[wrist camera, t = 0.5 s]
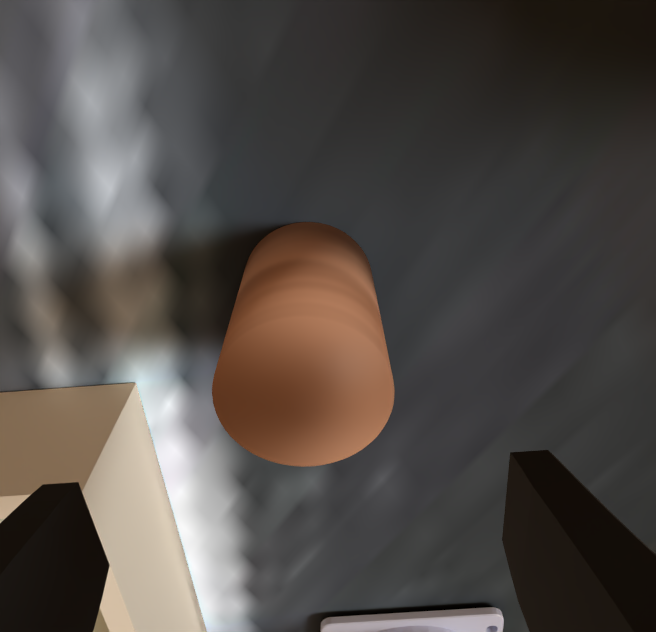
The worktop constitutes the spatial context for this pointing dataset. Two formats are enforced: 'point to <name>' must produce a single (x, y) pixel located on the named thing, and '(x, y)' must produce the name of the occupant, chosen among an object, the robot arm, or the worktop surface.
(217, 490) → the worktop surface
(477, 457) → the worktop surface
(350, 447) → the peg
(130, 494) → the bore box
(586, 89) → the worktop surface
